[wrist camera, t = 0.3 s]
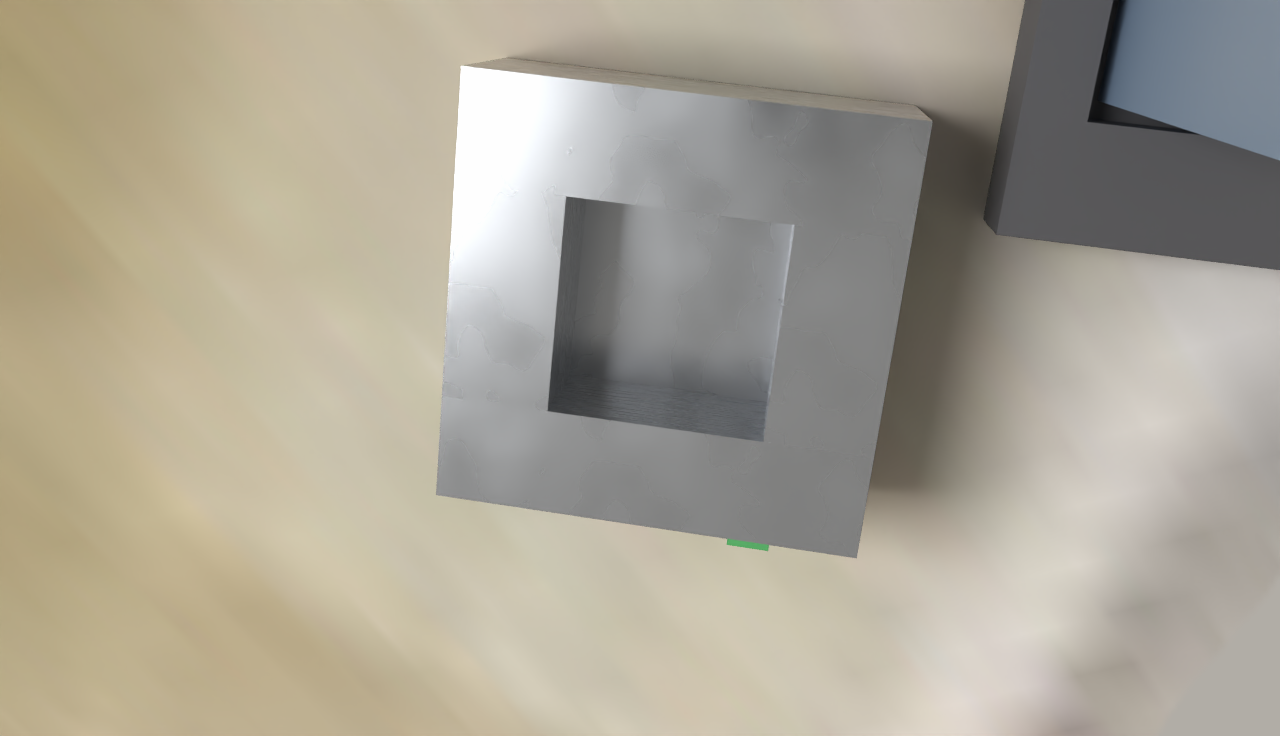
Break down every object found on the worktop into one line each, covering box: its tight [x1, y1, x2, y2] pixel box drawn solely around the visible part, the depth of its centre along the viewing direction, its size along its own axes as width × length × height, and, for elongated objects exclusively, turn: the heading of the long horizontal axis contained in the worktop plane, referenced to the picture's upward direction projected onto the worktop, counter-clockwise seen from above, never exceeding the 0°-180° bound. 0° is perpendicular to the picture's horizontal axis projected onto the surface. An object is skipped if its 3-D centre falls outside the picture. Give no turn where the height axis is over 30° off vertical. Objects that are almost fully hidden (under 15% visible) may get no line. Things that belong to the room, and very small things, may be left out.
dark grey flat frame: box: [983, 0, 1280, 270], centre depth 32 cm, size 12×9×2 cm
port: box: [436, 58, 933, 558], centre depth 35 cm, size 13×12×5 cm
